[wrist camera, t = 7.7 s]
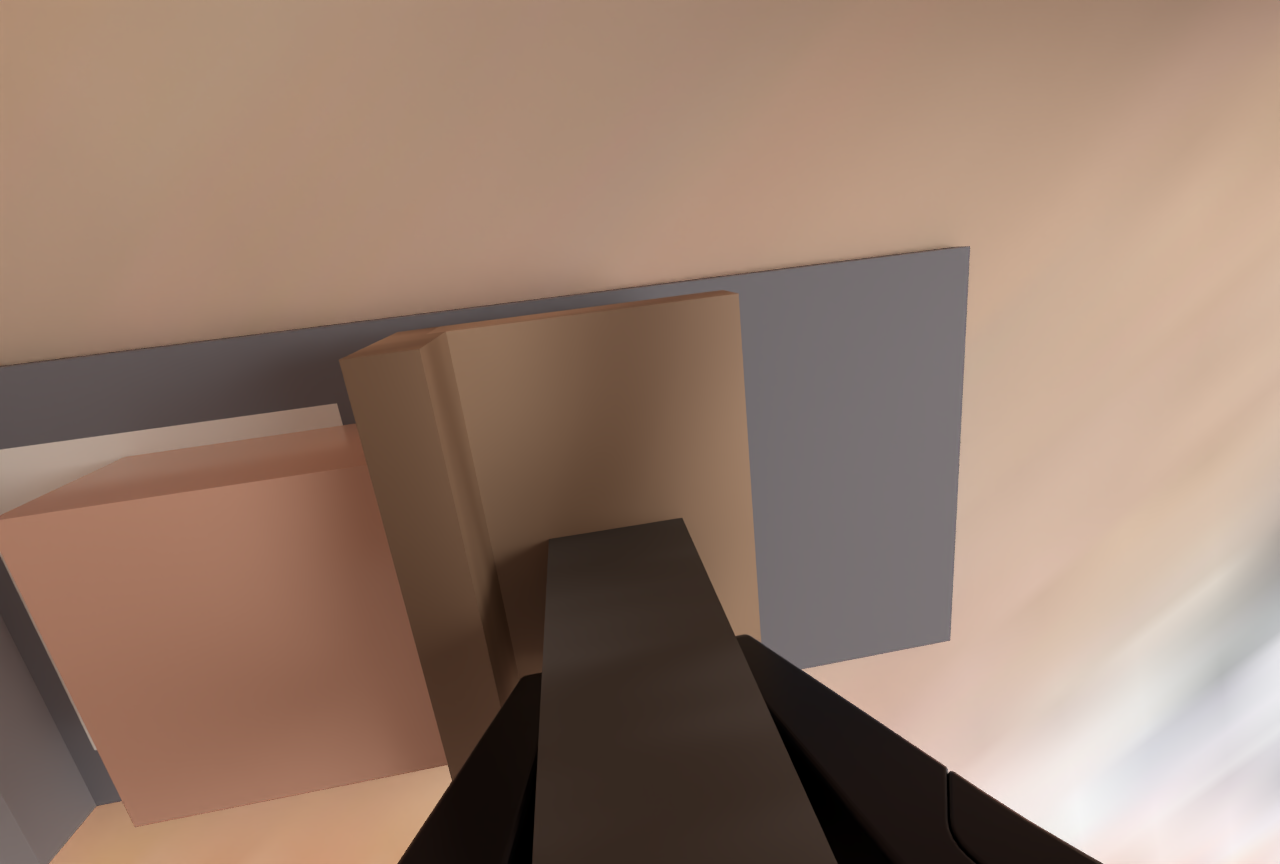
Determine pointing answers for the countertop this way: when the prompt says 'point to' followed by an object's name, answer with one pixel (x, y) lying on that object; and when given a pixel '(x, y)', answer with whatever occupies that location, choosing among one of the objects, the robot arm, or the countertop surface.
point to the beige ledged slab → (590, 568)
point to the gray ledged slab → (309, 358)
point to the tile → (228, 622)
